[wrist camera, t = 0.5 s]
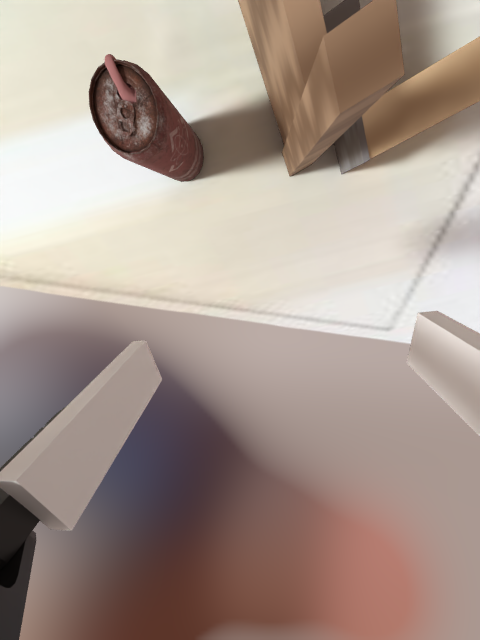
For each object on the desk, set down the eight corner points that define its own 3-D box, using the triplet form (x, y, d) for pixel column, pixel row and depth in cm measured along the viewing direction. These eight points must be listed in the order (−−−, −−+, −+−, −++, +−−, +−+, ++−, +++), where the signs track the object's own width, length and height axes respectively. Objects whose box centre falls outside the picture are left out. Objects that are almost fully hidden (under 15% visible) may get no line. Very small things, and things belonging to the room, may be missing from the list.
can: (191, 114, 26) (131, 25, 14) (211, 171, 29) (175, 139, 17) (151, 136, 28) (63, 73, 15) (173, 189, 30) (113, 171, 18)
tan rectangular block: (332, 134, 26) (353, 110, 20) (455, 62, 23) (526, 6, 17) (341, 174, 28) (363, 162, 22) (457, 112, 24) (522, 78, 18)
